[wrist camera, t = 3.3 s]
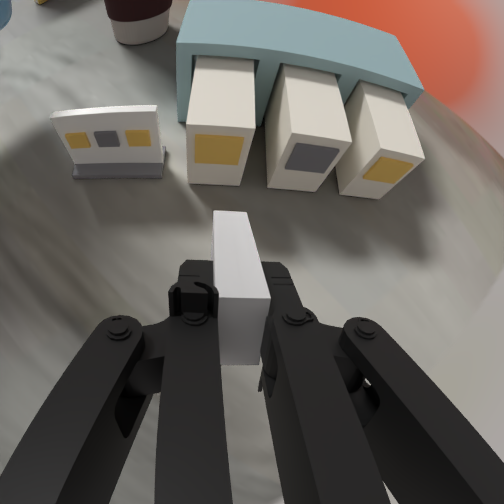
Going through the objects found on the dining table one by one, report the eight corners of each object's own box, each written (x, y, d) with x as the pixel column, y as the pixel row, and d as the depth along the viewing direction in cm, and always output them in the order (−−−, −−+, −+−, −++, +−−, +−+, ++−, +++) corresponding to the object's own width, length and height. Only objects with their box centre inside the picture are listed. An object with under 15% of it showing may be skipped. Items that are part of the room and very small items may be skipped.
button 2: (339, 197, 27) (381, 150, 20) (325, 113, 30) (353, 62, 23) (379, 201, 28) (425, 161, 21) (361, 121, 31) (393, 75, 24)
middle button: (267, 190, 26) (292, 135, 19) (263, 104, 29) (281, 47, 22) (315, 194, 27) (352, 145, 20) (304, 110, 30) (329, 56, 23)
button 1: (187, 186, 25) (185, 127, 18) (197, 99, 28) (200, 39, 21) (239, 188, 26) (255, 131, 19) (240, 102, 29) (253, 43, 22)
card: (73, 178, 24) (44, 130, 17) (81, 151, 25) (57, 100, 18) (161, 178, 25) (152, 124, 18) (165, 150, 26) (159, 93, 19)
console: (177, 121, 27) (176, 42, 18) (188, 65, 30) (191, -4, 21) (378, 145, 31) (424, 89, 22) (361, 89, 33) (395, 35, 24)
